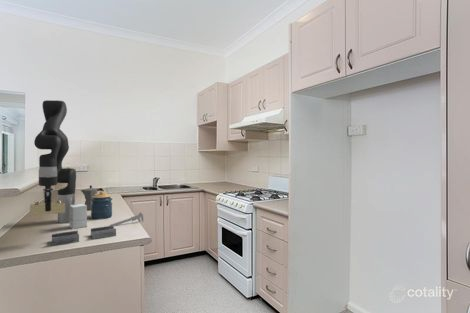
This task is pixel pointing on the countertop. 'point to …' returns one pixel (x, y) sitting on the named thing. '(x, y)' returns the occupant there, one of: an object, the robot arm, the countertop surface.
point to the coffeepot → (90, 195)
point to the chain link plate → (40, 208)
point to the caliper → (129, 219)
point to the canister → (101, 206)
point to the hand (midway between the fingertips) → (48, 210)
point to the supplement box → (78, 216)
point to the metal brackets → (74, 236)
